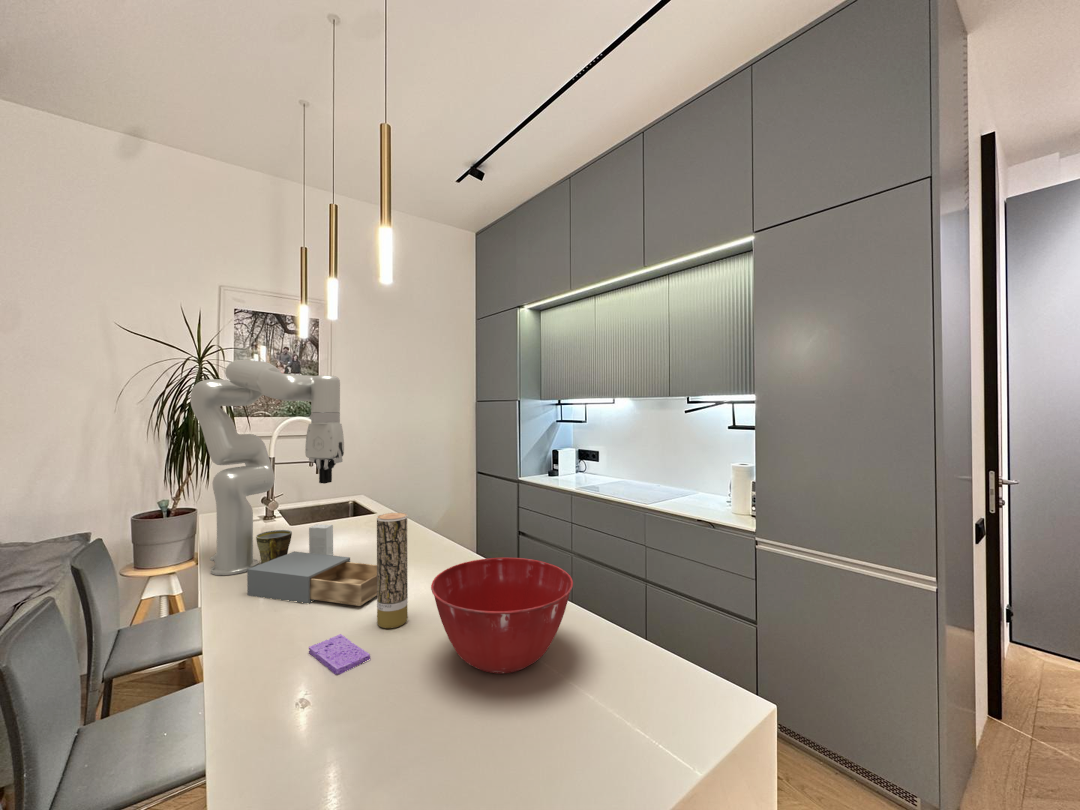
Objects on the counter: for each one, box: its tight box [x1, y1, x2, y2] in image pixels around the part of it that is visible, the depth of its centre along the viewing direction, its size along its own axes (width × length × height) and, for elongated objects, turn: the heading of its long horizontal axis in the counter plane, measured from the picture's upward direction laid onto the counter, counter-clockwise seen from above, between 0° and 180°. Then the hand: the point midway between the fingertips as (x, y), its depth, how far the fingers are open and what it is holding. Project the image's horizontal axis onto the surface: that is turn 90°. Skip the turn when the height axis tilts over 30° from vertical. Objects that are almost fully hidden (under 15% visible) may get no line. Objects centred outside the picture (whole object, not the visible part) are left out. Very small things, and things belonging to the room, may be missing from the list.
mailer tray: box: [310, 561, 377, 607], centre depth 126 cm, size 19×14×5 cm
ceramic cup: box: [255, 529, 293, 564], centre depth 148 cm, size 13×10×10 cm
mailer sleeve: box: [246, 551, 351, 604], centre depth 130 cm, size 20×16×7 cm
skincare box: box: [308, 524, 334, 556], centre depth 151 cm, size 6×4×12 cm
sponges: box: [308, 633, 371, 675], centre depth 95 cm, size 7×13×2 cm, turn 49°
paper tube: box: [376, 512, 409, 629], centre depth 109 cm, size 7×7×25 cm
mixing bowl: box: [430, 557, 574, 675], centre depth 95 cm, size 28×28×16 cm
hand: (325, 482), depth 134 cm, fingers closed
